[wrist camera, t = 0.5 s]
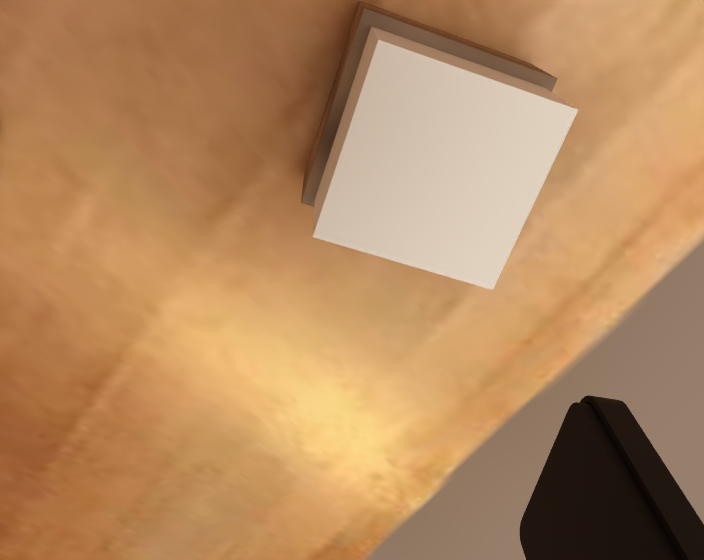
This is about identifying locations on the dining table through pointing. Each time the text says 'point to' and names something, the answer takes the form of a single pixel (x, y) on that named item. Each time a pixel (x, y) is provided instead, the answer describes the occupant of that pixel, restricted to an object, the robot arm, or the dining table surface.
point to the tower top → (437, 160)
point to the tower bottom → (411, 31)
